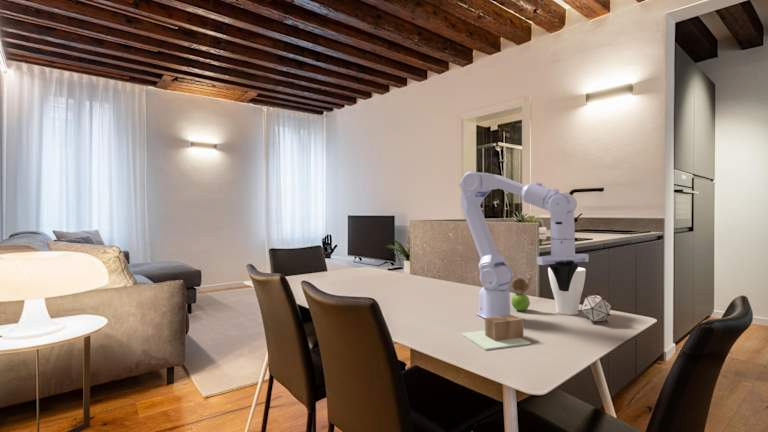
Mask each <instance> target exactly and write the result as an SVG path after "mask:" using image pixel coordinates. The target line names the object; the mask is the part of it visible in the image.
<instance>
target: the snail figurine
mask: <svg viewBox="0 0 768 432" xmlns="http://www.w3.org/2000/svg"><path fill="white" fill-rule="evenodd" d="M532 274H533V273H532V272H529V275H528V276H527V277H526V278H527V281H526V280H525V279H524V278H523V277H516V278H513V279H512V281H511V282H512V283H511V287H512V289H513V290H512V292H513V293H514V295H513V296H512V297H511V305H512V307H513V308H514V309H515V310H517V311H521V312H522V311H526V310H527V309H528V308H529V306H530V304H531V301H530V298H529V297H528V296H527V295H526V293H527V292H528V291H529V290H530V289H531V288H530V287H531V283H532V279H533V277H532Z"/></svg>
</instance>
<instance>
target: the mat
mask: <svg viewBox="0 0 768 432" xmlns="http://www.w3.org/2000/svg"><path fill="white" fill-rule="evenodd" d="M460 334H461V336H463V337H465V338H466V339H467V340H469V341H470V342H472V343H473V344H475V346H478V347H479V348H481V349H483V350H484V351H490V350H491V351H493V350H497V349H498V350H499V349H500V350H501V349H505V348H506V349H507V348H512V347H521V346H527V345H531V344H532V343H531V342H530V341H528V340H526V339H524V338H515V339H507V340H500V341H494V340H492V339H491V338H489V337H487V336H485V329H484V330H477V331H470V332H469V331H468V332H461V333H460Z"/></svg>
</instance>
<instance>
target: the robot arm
mask: <svg viewBox="0 0 768 432" xmlns="http://www.w3.org/2000/svg"><path fill="white" fill-rule="evenodd" d="M459 187H460V190H461V192H460V194H461V195H460V196H461V197H460V205H461V206H460V207H461V209H462V213H463V215H464V217H465V220H466V223H467V225H468V228H469V232H470V234H471V236H472V239H473V242H474V244H475V248H476V251H477V253H478V256H479V259H480V260H479V263H478V267H477V268H478V270H479V281H480V283H481V284H482V286H483V287H481V289H480V290H479V292H478V309H479V310H478V311H479V312H476V315H477V316H479V317H481V318H483V319H485V318H487V317H496V316H505V315H511V294H510V291H511V290H510V289H511V288H510V283H511V282H512V281H513V279H514V278H513V277H514V273H513V270H512V268H511V267H510V266H509V265H508V264H507V262H506V259H505V258H504V257H503V256H502V255H501V254H500V253H499V252H498V249H497V246H496V245H495V241H494V239H493V236H492V234H491V231H490V228H489V226H488V223H487V220H486V218H485V215H484V212H483V209H482V207H481V204H482V202H483V201H484V199H485V198H486V197H487V195H489V194H490V192H492V190H497V189H500V190H502V191H505V192H508V193H511V194H515V195H518V196H521V198H522V200H523V202H524V203H525V204H526V203H527V204H528V205H532V206H535V207H537V208H539V209H542V210H545V211H547V212H549V215H550V216H549V217H550V254H549V255H541V256H537V257H536V264H537V265H538V266H539V265H540V266H545V265H548V266H549V267H550V268H551V270H552V272H553V274H554V276H555V278H556V281H557V284H558V288H559V290H560V291H564V292H565V291H569V287H570V283H571V280H572V277H573V275H574V273H575V271H576V270H577V268H578V267H579V264H578V263H580V262H581V263H582V262H584V263H588V262H589V254H587V253H576V240H575V239H576V238H575V237H576V236H575V234H576V232H575V231H576V230H575V229H576V228H575V210H576V208H577V203H578V202H577V199H576V198H575V197H574V195H572V194H570V193H569V192H560V189H559V188H550V187H547V186H543V183H541V182H539V181H536V182H531V183H528V184H523V183H520V182H519V181H515V180H513V179H509V178H507V177H505V176H503V175H498V174H493V173H489V172H478V171H475V170H470V171H467V172H466V173H464V174H463V176H462V178H461V180H460V182H459ZM549 267H548V268H549Z"/></svg>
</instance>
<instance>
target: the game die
mask: <svg viewBox="0 0 768 432" xmlns="http://www.w3.org/2000/svg"><path fill="white" fill-rule="evenodd" d="M583 296H584V300H582V301H581V303H582V305H581V307H580V309H579V310H578V312H581V313H582V314H583V315H584V316H586V319H587V320H591V321H592V325H595V324H596V322H601V321H602V322H603V321H605V322H606V323H609V321H608V320H607V319H608V317H609V316H610V317H611V316H612V315H611V314H610V312H611V309H612V307H615V305H614V304H611V303H609V302H608V300H606V296H600V293H599V292H597V293H596V295H594V294H593V295H587V294H585V293H584V294H583Z"/></svg>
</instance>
